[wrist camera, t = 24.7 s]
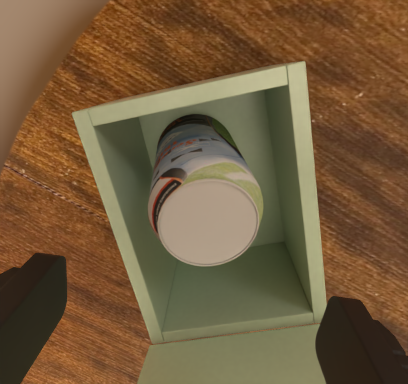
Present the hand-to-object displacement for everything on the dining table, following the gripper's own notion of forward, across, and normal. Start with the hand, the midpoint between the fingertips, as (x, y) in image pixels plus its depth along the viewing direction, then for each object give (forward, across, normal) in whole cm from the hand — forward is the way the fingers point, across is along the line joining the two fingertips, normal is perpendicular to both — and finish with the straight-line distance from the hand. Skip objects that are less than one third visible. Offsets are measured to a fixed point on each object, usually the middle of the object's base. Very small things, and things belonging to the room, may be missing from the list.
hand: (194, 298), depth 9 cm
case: (+18, -1, +2) cm, 18 cm away
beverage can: (+18, 0, 0) cm, 18 cm away
